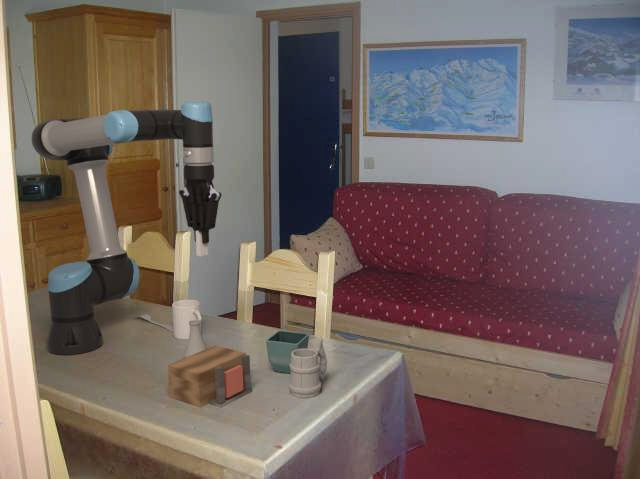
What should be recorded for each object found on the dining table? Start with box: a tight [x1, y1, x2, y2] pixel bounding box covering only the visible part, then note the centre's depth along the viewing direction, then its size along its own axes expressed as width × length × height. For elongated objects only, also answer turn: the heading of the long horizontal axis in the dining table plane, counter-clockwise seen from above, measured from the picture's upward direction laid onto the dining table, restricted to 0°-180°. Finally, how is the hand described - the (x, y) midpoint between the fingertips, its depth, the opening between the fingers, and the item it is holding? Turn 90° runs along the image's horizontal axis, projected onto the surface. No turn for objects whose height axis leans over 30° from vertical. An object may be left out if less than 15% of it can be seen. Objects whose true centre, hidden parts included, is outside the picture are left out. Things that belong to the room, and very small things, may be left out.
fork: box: [134, 313, 173, 332], centre depth 219 cm, size 3×21×3 cm, turn 50°
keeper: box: [224, 365, 243, 398], centre depth 162 cm, size 1×6×6 cm, turn 145°
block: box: [167, 345, 253, 408], centre depth 165 cm, size 14×16×9 cm
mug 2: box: [288, 336, 328, 399], centre depth 166 cm, size 8×12×12 cm, turn 141°
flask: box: [182, 320, 208, 359], centre depth 189 cm, size 7×7×10 cm
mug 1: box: [171, 299, 203, 340], centre depth 205 cm, size 8×12×10 cm, turn 41°
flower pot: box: [265, 330, 310, 375], centre depth 179 cm, size 9×9×9 cm
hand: (202, 255), depth 181 cm, fingers closed
